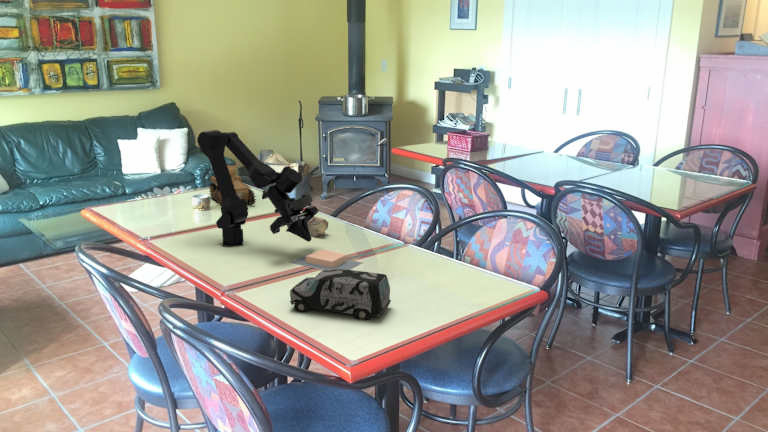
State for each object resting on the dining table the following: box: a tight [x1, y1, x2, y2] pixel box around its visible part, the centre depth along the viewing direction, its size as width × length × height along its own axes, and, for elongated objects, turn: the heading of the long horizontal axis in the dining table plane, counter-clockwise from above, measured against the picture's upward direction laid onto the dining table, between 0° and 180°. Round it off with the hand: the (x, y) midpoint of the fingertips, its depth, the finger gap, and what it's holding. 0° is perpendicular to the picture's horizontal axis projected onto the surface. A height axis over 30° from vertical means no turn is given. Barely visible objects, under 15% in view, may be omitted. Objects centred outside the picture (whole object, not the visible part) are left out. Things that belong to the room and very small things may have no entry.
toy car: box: [289, 268, 392, 321], centre depth 164 cm, size 11×25×10 cm, turn 73°
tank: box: [208, 164, 257, 206], centre depth 273 cm, size 13×27×15 cm, turn 30°
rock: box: [307, 216, 329, 238], centre depth 228 cm, size 7×11×10 cm
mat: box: [288, 252, 363, 271], centre depth 199 cm, size 20×12×1 cm, turn 59°
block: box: [306, 248, 348, 268], centre depth 198 cm, size 2×8×10 cm
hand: (310, 240), depth 200 cm, fingers closed
